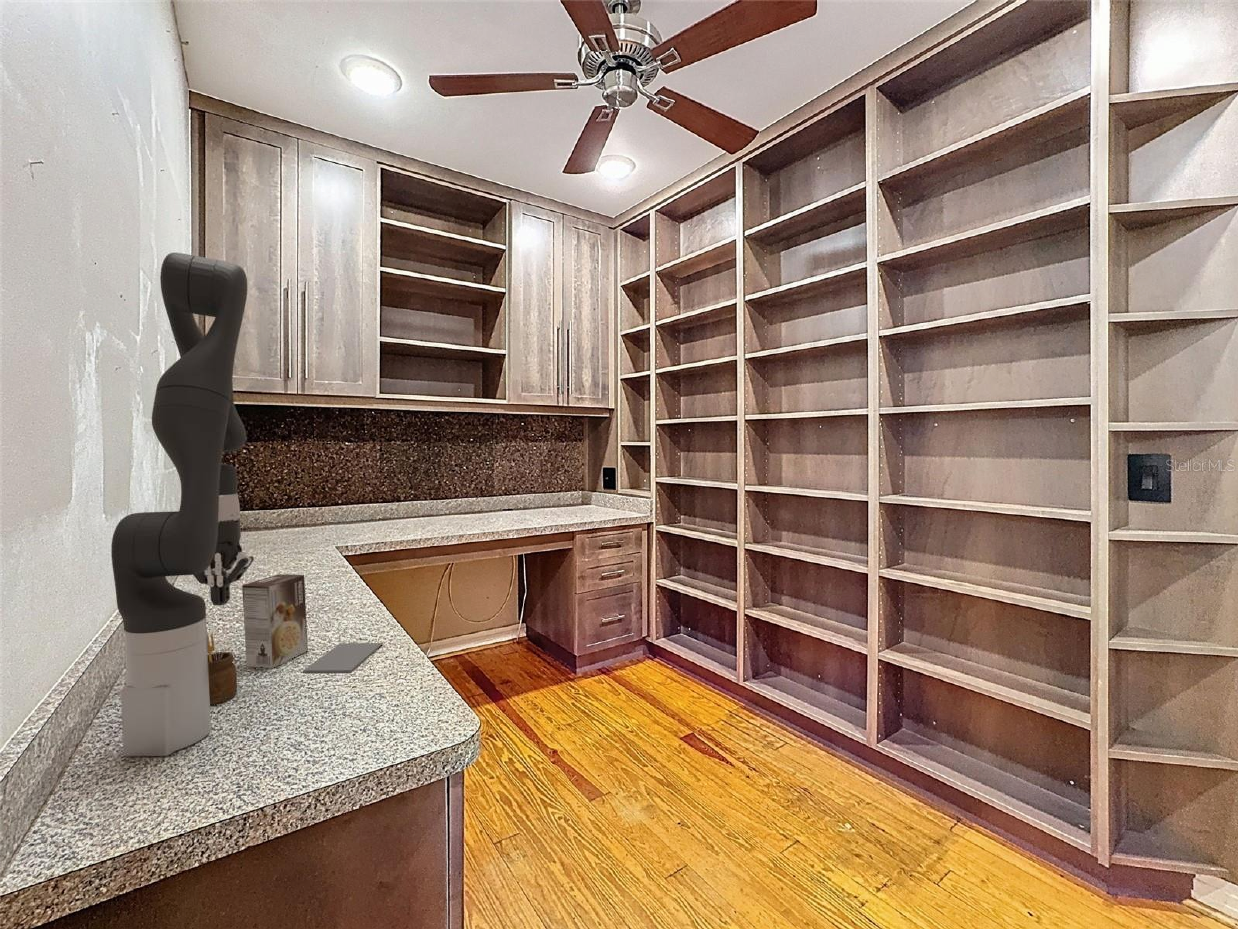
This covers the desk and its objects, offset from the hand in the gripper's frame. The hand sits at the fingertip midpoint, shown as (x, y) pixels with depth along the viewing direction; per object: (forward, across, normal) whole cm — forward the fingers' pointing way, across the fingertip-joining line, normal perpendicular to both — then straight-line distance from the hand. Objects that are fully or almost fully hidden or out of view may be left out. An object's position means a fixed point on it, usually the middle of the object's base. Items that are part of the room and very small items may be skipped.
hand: (220, 604), depth 111 cm
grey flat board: (+11, +24, 0) cm, 27 cm away
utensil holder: (+11, +11, -17) cm, 23 cm away
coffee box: (+11, +11, 0) cm, 16 cm away
